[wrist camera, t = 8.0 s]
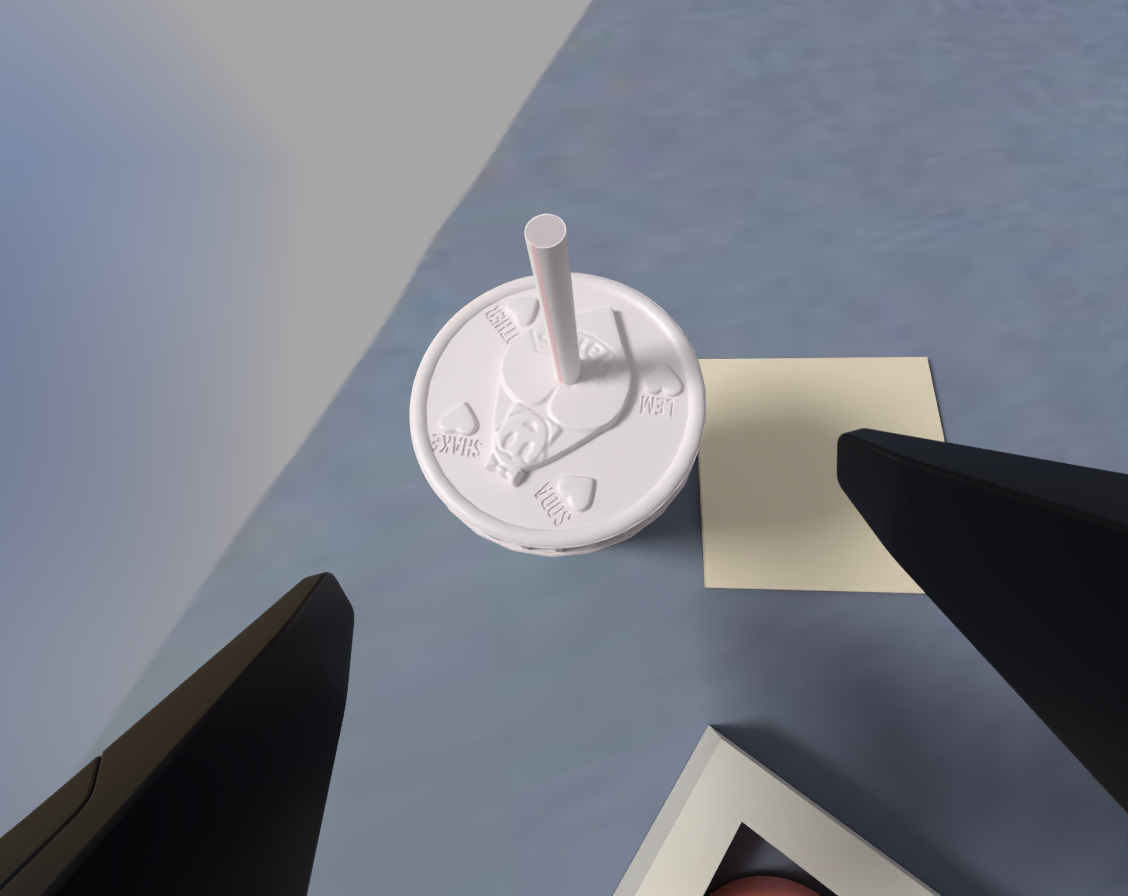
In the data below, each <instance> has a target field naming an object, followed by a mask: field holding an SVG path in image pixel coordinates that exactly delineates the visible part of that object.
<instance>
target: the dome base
mask: <svg viewBox="0 0 1128 896" xmlns="http://www.w3.org/2000/svg"><path fill="white" fill-rule="evenodd" d="M741 822H743V823H744V824H746V825H747V826H748V827H749V828H751V829H752V830H753V831H755V832H756V833H757V834H759V835H760V836H761V837H762V838H764V839H765V840H766V841H768V842H769V843H770V844H772V845H773V846H774V847H775V848H777V849H778V850H779V851H781V852H782V853H783V854H785V855H786V856H787V857H788V858H790V859H791V860H792V861H794V862H795V863H796V864H797V865H799V866H800V867H801V868H803V869H804V870H805V871H807V872H808V873H809V874H810V875H812V876H813V877H814V878H816V879H817V880H818V881H820V882H821V883H822V884H823V885H825V886H826V887H827V888H829V889H830V890H831V891H833V892H834V893H835V894H836V895H838V896H941V895H940V894H938V893H937V892H936V891H934V890H933V889H932V888H930V887H929V886H928V885H926V884H925V883H923V882H922V881H921V880H919V879H918V878H917V877H915V876H914V875H913V874H911V873H910V872H908V871H907V870H906V869H904V868H903V867H902V866H900V865H899V864H898V863H896V862H895V861H893V860H892V859H891V858H889V857H888V856H887V855H885V854H884V853H883V852H881V851H880V850H878V849H877V848H876V847H874V846H873V845H872V844H870V843H869V842H868V841H866V840H865V839H863V838H862V837H861V836H859V835H858V834H857V833H855V832H854V831H853V830H851V829H850V828H848V827H847V826H846V825H844V824H843V823H842V822H840V821H839V820H838V819H836V818H835V817H833V816H832V815H831V814H829V813H828V812H827V811H825V810H824V809H823V808H821V807H820V806H818V805H817V804H816V803H814V802H813V801H812V800H810V799H809V798H808V797H806V796H805V795H803V794H802V793H801V792H799V791H798V790H797V789H795V788H794V787H793V786H791V785H790V784H788V783H787V782H786V781H784V780H783V779H782V778H780V777H779V776H778V775H776V774H775V773H774V772H772V771H771V770H769V769H768V768H767V767H765V766H764V765H763V764H761V763H760V762H759V761H757V760H756V759H754V758H753V757H752V756H750V755H749V754H748V753H746V752H745V751H744V750H742V749H741V748H739V747H738V746H737V745H735V744H734V743H733V742H731V741H730V740H729V739H727V738H726V737H724V736H723V735H722V734H720V733H719V732H718V731H716V730H715V729H714V728H712V727H711V726H709V725H708V727H707V729H706V731H705V732H704V734H703V736H702V738H701V740H700V741H699V743H698V745H697V747H696V749H695V750H694V752H693V754H692V756H691V757H690V759H689V761H688V763H687V765H686V766H685V768H684V770H683V772H682V774H681V775H680V777H679V779H678V781H677V782H676V784H675V786H674V788H673V790H672V791H671V793H670V795H669V797H668V799H667V800H666V802H665V804H664V806H663V807H662V809H661V811H660V813H659V815H658V816H657V818H656V820H655V822H654V824H653V825H652V827H651V829H650V831H649V832H648V834H647V836H646V838H645V840H644V841H643V843H642V845H641V847H640V849H639V850H638V852H637V854H636V856H635V857H634V859H633V861H632V863H631V865H630V866H629V868H628V870H627V872H626V874H625V875H624V877H623V879H622V881H621V882H620V884H619V886H618V888H617V890H616V891H615V893H614V895H613V896H703V895H704V893H705V891H706V889H707V887H708V886H709V884H710V882H711V880H712V878H713V876H714V874H715V872H716V870H717V868H718V866H719V864H720V863H721V861H722V859H723V857H724V855H725V853H726V851H727V849H728V847H729V845H730V843H731V841H732V840H733V838H734V836H735V834H736V832H737V830H738V828H739V826H740V824H741Z"/></svg>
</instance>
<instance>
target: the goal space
mask: <svg viewBox="0 0 1128 896" xmlns="http://www.w3.org/2000/svg"><path fill="white" fill-rule="evenodd" d="M698 361H699V364H700V367H701V371H702V374H703V378H704V384H705V389H706V420H705V427H704V433H703V437H702V440H701V444H700V448H699V452H698V465H699V484H700V503H701V523H702V542H703V561H704V581H705V588H730V589H767V590H804V591H841V592H878V593H915V594H926V593H925V592H924V591H923V590H922V589H921V588H920V587H919V586H918V585H917V584H916V583H915V581H914V580H913V579H912V578H911V577H910V576H909V575H908V574H907V573H906V572H905V571H904V570H903V568H902V567H901V566H900V565H899V564H898V563H897V562H896V560H895V559H894V558H893V557H892V556H891V555H890V553H889V552H888V551H887V550H886V548H885V547H884V546H883V545H882V543H881V542H880V540H879V539H878V538H877V536H876V535H875V534H874V532H873V531H872V530H871V528H870V527H869V526H868V524H867V523H866V521H865V520H864V519H863V517H862V516H861V515H860V513H859V512H858V511H857V509H856V508H855V507H854V505H853V504H852V502H851V501H850V500H849V498H848V497H847V496H846V494H845V493H844V492H843V490H842V489H841V487H840V485H839V483H838V480H837V441H838V438H839V436H840V435H841V434H843V433H846V432H850V431H853V430H857V429H861V428H868V429H874V430H880V431H885V432H891V433H897V434H902V435H908V436H914V437H919V438H925V439H931V440H936V441H942V442H945V441H944V436H943V431H942V427H941V422H940V417H939V412H938V407H937V402H936V398H935V393H934V388H933V383H932V378H931V373H930V369H929V364H928V359H927V357H887V358H784V359H698Z"/></svg>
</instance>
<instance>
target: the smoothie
mask: <svg viewBox="0 0 1128 896" xmlns="http://www.w3.org/2000/svg"><path fill="white" fill-rule="evenodd" d="M524 233H525V239H526V244H527V248H528V253H529V257H530V262H531V267H532V271H533V276H528V277H524V278H520V279H517V280H513V281H511V282H508V283H505V284H503V285H500V286H498V287H496V288H494V289H492V290H490V291H488V292H486V293H484V294H482V295H481V296H479V297H477V298H476V299H474V300H473V301H472V302H470V303H469V304H467V305H466V306H465V307H463V308H462V309H461V310H460V311H459V312H458V313H456V314H455V315H454V316H453V317H452V318H451V319H450V320H449V321H448V322H447V323H446V324H445V326H444V327H443V328H442V329H441V330H440V332H439V333H438V334H437V336H436V337H435V338H434V340H433V341H432V343H431V344H430V346H429V348H428V350H427V351H426V353H425V355H424V357H423V359H422V361H421V364H420V366H419V368H418V371H417V374H416V377H415V380H414V384H413V389H412V393H411V401H410V431H411V437H412V442H413V447H414V450H415V454H416V457H417V460H418V462H419V465H420V467H421V469H422V472H423V473H424V475H425V477H426V479H427V481H428V482H429V484H430V486H431V487H432V488H433V490H434V491H435V492H436V494H437V495H438V496H439V498H440V499H441V500H442V501H443V502H444V503H445V504H446V505H447V507H448V509H449V510H450V511H451V512H452V513H453V514H455V515H456V516H457V517H458V518H459V519H460V520H462V521H463V522H464V523H465V524H466V525H467V526H468V527H470V528H471V529H472V530H473V531H474V532H475V533H476V534H478V535H480V536H482V537H484V538H486V539H488V540H491V541H493V542H495V543H497V544H499V545H501V546H503V547H506V548H508V549H510V550H512V551H517V552H523V553H529V554H535V555H541V556H547V557H559V556H569V555H578V554H588V553H593V552H596V551H599V550H601V549H604V548H606V547H609V546H612V545H614V544H617V543H619V542H622V541H624V540H627V539H630V538H631V537H632V536H634V535H635V534H636V533H638V532H639V531H640V530H642V529H643V528H645V527H646V526H647V525H649V524H650V523H651V522H653V521H654V520H655V519H657V518H658V517H659V516H661V515H662V514H663V513H664V511H665V510H666V509H667V507H668V506H669V505H670V504H671V502H672V501H673V500H674V498H675V497H676V496H677V494H678V493H679V492H680V491H681V489H682V488H683V487H684V485H685V484H686V482H687V479H688V477H689V474H690V472H691V469H692V467H693V464H694V462H695V459H696V457H697V454H698V452H699V448H700V444H701V440H702V437H703V433H704V427H705V420H706V389H705V384H704V378H703V374H702V371H701V367H700V364H699V361H698V359H697V356H696V354H695V351H694V349H693V348H692V346H691V344H690V342H689V340H688V339H687V337H686V336H685V334H684V333H683V331H682V330H681V328H680V327H679V326H678V325H677V323H676V322H675V321H674V320H673V319H672V318H671V317H670V316H669V315H668V314H667V313H666V312H665V311H664V310H663V309H662V308H661V307H660V306H658V305H657V304H656V303H655V302H653V301H652V300H651V299H649V298H648V297H646V296H645V295H643V294H642V293H640V292H638V291H636V290H634V289H632V288H630V287H628V286H626V285H623V284H621V283H619V282H616V281H613V280H610V279H607V278H603V277H599V276H594V275H589V274H581V273H571V270H570V261H569V251H568V242H567V232H566V226H565V223H564V222H563V220H562V219H561V218H559V217H558V216H555V215H552V214H542V215H538V216H536V217H534V218H532V219H531V220H530V221H529V222H528V223H527V225H526V227H525V232H524Z"/></svg>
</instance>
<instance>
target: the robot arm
mask: <svg viewBox="0 0 1128 896" xmlns="http://www.w3.org/2000/svg"><path fill="white" fill-rule="evenodd" d="M837 480H838V483H839V485H840V487H841V489H842V490H843V492H844V493H845V494H846V496H847V497H848V498H849V500H850V501H851V502H852V504H853V505H854V507H855V508H856V509H857V511H858V512H859V513H860V515H861V516H862V517H863V519H864V520H865V521H866V523H867V524H868V526H869V527H870V528H871V530H872V531H873V532H874V534H875V535H876V536H877V538H878V539H879V540H880V542H881V543H882V545H883V546H884V547H885V548H886V550H887V551H888V552H889V553H890V555H891V556H892V557H893V558H894V559H895V560H896V562H897V563H898V564H899V565H900V566H901V567H902V568H903V570H904V571H905V572H906V573H907V574H908V575H909V576H910V577H911V578H912V579H913V580H914V581H915V583H916V584H917V585H918V586H919V587H920V588H921V589H922V590H923V591H924V592H925V593H926V595H927V596H928V597H929V598H930V599H931V600H932V601H933V602H934V603H935V604H936V605H937V607H938V608H939V609H940V610H941V611H942V612H943V613H944V614H945V615H946V616H947V617H948V619H949V620H950V621H951V622H952V623H953V624H954V625H955V626H956V627H957V628H958V629H959V631H960V632H961V633H962V634H963V635H964V636H965V637H966V638H967V639H968V640H969V641H970V643H971V644H972V645H973V646H974V647H975V648H976V649H977V650H978V651H979V652H980V653H981V654H982V656H983V657H984V658H985V659H986V660H987V661H988V662H989V663H990V664H991V665H992V666H993V668H994V669H995V670H996V671H997V672H998V673H999V674H1000V675H1001V676H1002V677H1003V678H1004V680H1005V681H1006V682H1007V683H1008V684H1009V685H1010V686H1011V687H1012V688H1013V689H1014V690H1015V692H1016V693H1017V694H1018V695H1019V696H1020V697H1021V698H1022V699H1023V700H1024V701H1025V702H1026V704H1027V705H1028V706H1029V707H1030V708H1031V709H1032V710H1033V711H1034V712H1035V713H1036V714H1037V716H1038V717H1039V718H1040V719H1041V720H1042V721H1043V722H1044V723H1045V724H1046V725H1047V726H1048V728H1049V729H1050V730H1051V731H1052V732H1053V733H1054V734H1055V735H1056V736H1057V737H1058V738H1059V739H1060V741H1061V742H1062V743H1063V744H1064V745H1065V746H1066V747H1067V748H1068V749H1069V750H1070V751H1071V753H1072V754H1073V755H1074V756H1075V757H1076V758H1077V759H1078V760H1079V761H1080V762H1081V763H1082V765H1083V766H1084V767H1085V768H1086V769H1087V770H1088V771H1089V772H1090V773H1091V774H1092V775H1093V777H1094V778H1095V779H1096V780H1097V781H1098V782H1099V783H1100V784H1101V785H1102V786H1103V787H1104V789H1105V790H1106V791H1107V792H1108V793H1109V794H1110V795H1111V796H1112V797H1113V798H1114V799H1115V801H1116V802H1117V803H1118V804H1119V805H1120V806H1121V807H1122V808H1123V809H1124V810H1125V811H1126V813H1127V814H1128V474H1123V473H1117V472H1112V471H1106V470H1100V469H1095V468H1089V467H1083V466H1078V465H1072V464H1067V463H1061V462H1055V461H1050V460H1044V459H1038V458H1033V457H1027V456H1021V455H1016V454H1010V453H1004V452H999V451H993V450H987V449H982V448H976V447H970V446H965V445H959V444H953V443H948V442H942V441H936V440H931V439H925V438H919V437H914V436H908V435H902V434H897V433H891V432H885V431H880V430H874V429H868V428H861V429H857V430H853V431H850V432H846V433H843V434H841V435H840V436H839V438H838V441H837ZM353 628H354V612H353V608H352V605H351V603H350V602H349V600H348V598H347V597H346V595H345V593H344V591H343V590H342V588H341V586H340V584H339V583H338V581H337V579H336V578H335V576H334V575H333V574H331V573H329V572H324V573H320V574H316V575H313V576H309V577H306V578H304V579H303V580H301V581H300V582H299V583H298V584H297V585H296V586H295V587H293V588H292V589H291V590H290V591H289V592H288V593H286V594H285V595H284V596H283V597H282V598H281V599H279V600H278V601H277V602H276V603H275V604H274V605H272V606H271V607H270V608H269V609H268V610H267V611H266V612H264V613H263V614H262V615H261V616H260V617H259V618H257V619H256V620H255V621H254V622H253V623H252V624H250V625H249V626H248V627H247V628H246V629H245V630H243V631H242V632H241V633H240V634H239V635H238V636H236V637H235V638H234V639H233V640H232V641H231V642H230V643H228V644H227V645H226V646H225V647H224V648H223V649H221V650H220V651H219V652H218V653H217V654H216V655H214V656H213V657H212V658H211V659H210V660H209V661H207V662H206V663H205V664H204V665H203V666H202V667H200V668H199V669H198V670H197V671H196V672H195V673H194V674H192V675H191V676H190V677H189V678H188V679H187V680H185V681H184V682H183V683H182V684H181V685H180V686H178V687H177V688H176V689H175V690H174V691H173V692H171V693H170V694H169V695H168V696H167V697H166V698H164V699H163V700H162V701H161V702H160V703H159V704H158V705H156V706H155V707H154V708H153V709H152V710H151V711H149V712H148V713H147V714H146V715H145V716H144V717H142V718H141V719H140V720H139V721H138V722H137V723H135V724H134V725H133V726H132V727H131V728H130V729H129V730H127V731H126V732H125V733H124V734H123V735H122V736H120V737H119V738H118V739H117V740H116V741H115V742H113V743H112V744H111V745H110V746H109V747H108V748H106V749H105V750H104V751H103V753H102V757H101V756H98V757H96V758H95V759H93V760H92V761H91V762H90V763H89V764H88V765H87V766H85V767H84V768H83V769H82V770H81V771H80V772H78V773H77V774H76V775H75V776H74V777H73V778H71V779H70V780H69V781H68V782H67V783H66V784H64V785H63V786H62V787H61V788H60V789H58V790H57V791H56V792H55V793H54V794H53V795H51V796H50V797H49V798H48V799H47V800H45V801H44V802H43V803H42V804H41V805H40V806H38V807H37V808H36V809H35V810H34V811H32V812H31V813H30V814H29V815H28V816H26V817H25V818H24V819H23V820H22V821H21V822H20V823H18V824H17V825H16V826H14V827H13V828H12V829H11V830H9V831H8V832H7V833H6V834H5V835H3V836H2V837H1V838H0V896H307V892H308V887H309V882H310V877H311V873H312V868H313V863H314V858H315V853H316V848H317V843H318V838H319V834H320V829H321V824H322V819H323V814H324V809H325V804H326V800H327V795H328V790H329V785H330V780H331V775H332V770H333V765H334V761H335V756H336V751H337V746H338V741H339V736H340V731H341V726H342V722H343V717H344V711H345V706H346V699H347V691H348V682H349V671H350V660H351V649H352V639H353Z"/></svg>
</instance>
